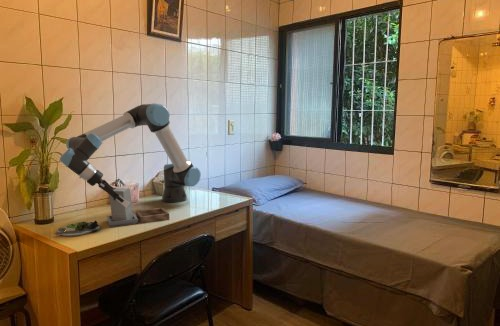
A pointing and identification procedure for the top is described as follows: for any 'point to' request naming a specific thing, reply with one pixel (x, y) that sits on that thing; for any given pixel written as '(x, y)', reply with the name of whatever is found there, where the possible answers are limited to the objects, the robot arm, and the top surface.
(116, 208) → the skincare box
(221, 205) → the top surface
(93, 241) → the top surface
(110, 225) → the tray
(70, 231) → the salad plate
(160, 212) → the square wooden tray
